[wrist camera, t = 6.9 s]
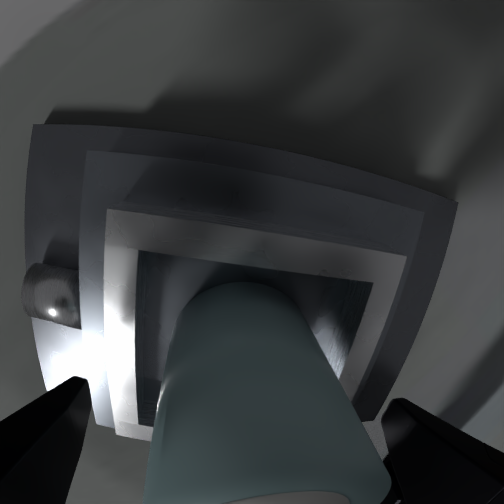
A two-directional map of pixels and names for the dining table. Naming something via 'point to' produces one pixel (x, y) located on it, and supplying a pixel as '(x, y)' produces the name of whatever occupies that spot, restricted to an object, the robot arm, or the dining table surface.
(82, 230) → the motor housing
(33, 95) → the dining table surface
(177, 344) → the cylinder
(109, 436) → the dining table surface
